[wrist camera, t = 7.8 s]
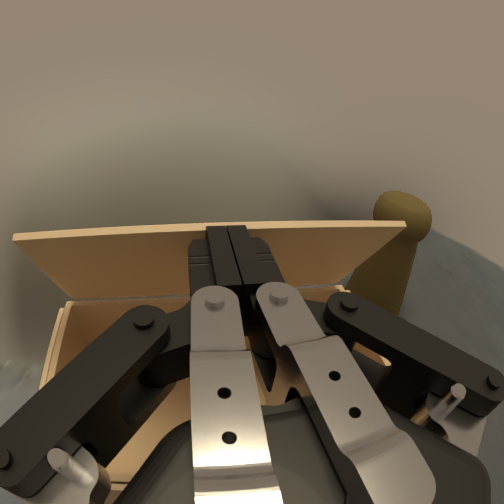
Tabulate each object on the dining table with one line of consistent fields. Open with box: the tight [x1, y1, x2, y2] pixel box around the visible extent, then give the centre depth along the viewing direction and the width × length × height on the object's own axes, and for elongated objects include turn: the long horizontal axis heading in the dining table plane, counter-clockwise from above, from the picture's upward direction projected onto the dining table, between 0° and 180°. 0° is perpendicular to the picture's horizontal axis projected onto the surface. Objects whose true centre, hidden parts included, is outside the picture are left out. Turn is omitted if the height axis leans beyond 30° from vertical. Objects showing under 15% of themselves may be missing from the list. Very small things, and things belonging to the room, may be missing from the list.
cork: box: [345, 191, 432, 316], centre depth 26 cm, size 6×6×11 cm
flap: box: [13, 221, 407, 299], centre depth 15 cm, size 17×1×8 cm
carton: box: [39, 285, 391, 504], centre depth 16 cm, size 19×12×6 cm, turn 103°
